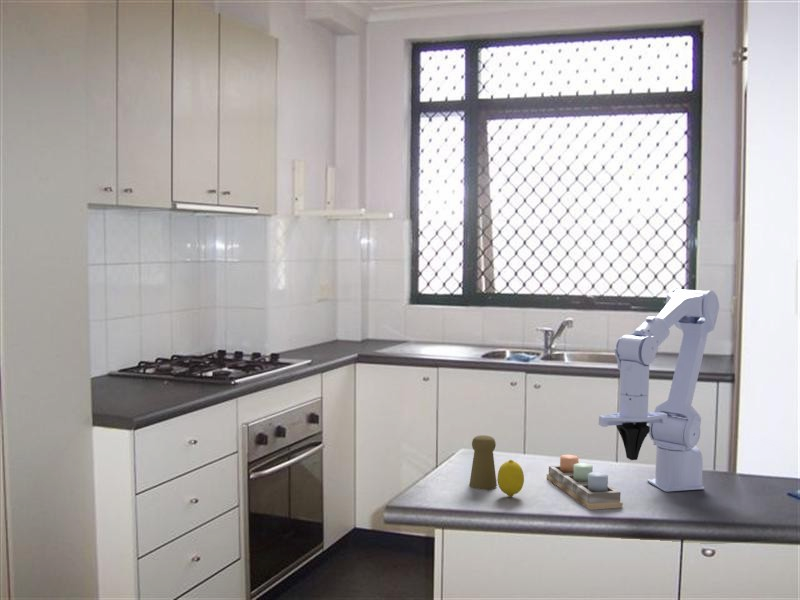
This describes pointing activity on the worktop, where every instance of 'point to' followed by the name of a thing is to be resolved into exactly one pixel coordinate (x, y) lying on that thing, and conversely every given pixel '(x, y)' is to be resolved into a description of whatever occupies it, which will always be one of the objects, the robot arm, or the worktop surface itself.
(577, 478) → the button sage
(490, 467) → the pepper mill
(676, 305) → the robot arm
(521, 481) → the lemon
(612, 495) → the panel
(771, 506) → the worktop surface
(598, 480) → the button slate
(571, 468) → the button terracotta
